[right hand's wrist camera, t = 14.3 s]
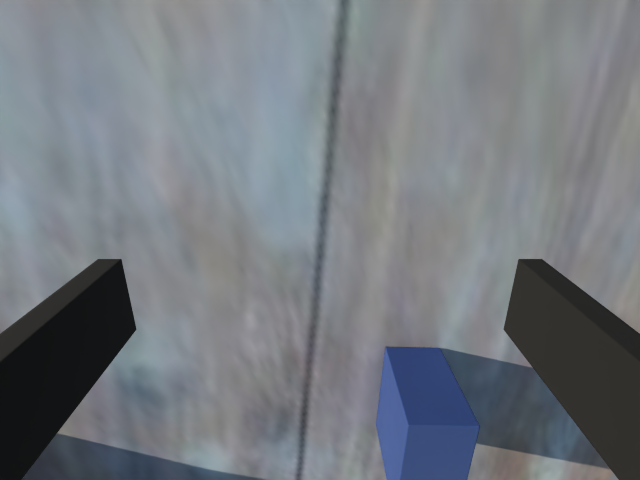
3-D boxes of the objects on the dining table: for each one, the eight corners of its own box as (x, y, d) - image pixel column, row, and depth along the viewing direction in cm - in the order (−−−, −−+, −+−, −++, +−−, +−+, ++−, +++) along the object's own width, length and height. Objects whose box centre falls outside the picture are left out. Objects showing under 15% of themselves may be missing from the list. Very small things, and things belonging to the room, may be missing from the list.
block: (385, 346, 33) (408, 425, 25) (440, 347, 33) (480, 426, 25) (375, 424, 36) (393, 517, 28) (426, 425, 36) (458, 517, 28)
